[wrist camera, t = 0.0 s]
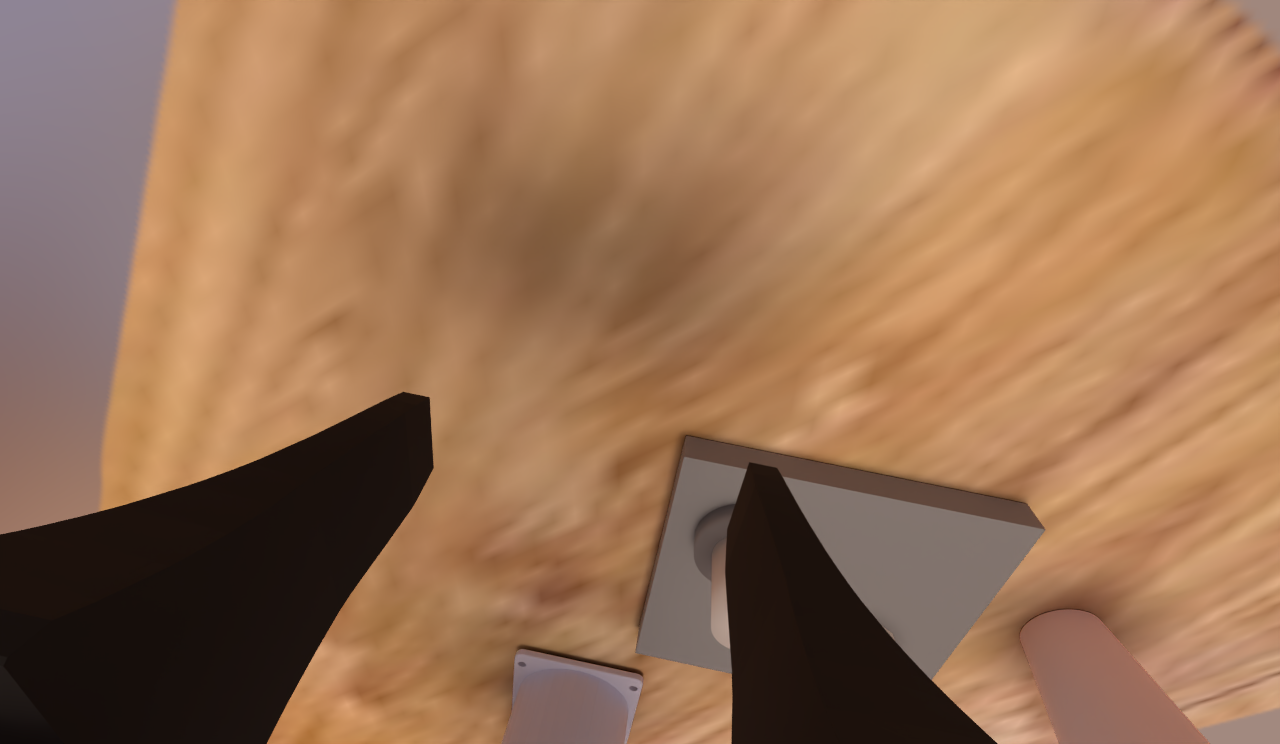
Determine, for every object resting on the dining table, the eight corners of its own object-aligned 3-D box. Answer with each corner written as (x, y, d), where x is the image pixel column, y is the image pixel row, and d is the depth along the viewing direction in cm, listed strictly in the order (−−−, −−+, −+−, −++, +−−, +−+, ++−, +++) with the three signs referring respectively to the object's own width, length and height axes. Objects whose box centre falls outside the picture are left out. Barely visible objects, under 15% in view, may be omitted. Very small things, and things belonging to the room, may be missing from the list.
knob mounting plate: (899, 683, 30) (937, 811, 25) (638, 628, 31) (622, 741, 25) (1027, 504, 23) (1117, 629, 18) (686, 435, 24) (677, 538, 18)
